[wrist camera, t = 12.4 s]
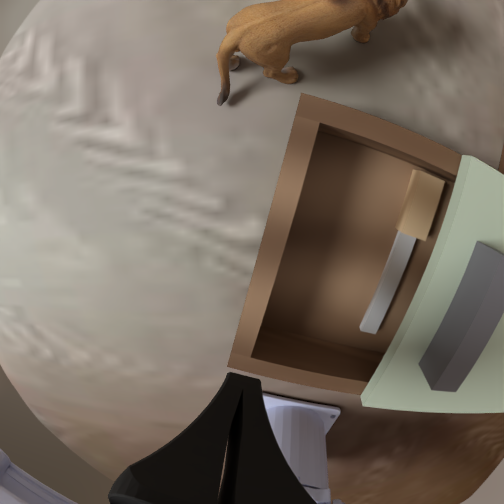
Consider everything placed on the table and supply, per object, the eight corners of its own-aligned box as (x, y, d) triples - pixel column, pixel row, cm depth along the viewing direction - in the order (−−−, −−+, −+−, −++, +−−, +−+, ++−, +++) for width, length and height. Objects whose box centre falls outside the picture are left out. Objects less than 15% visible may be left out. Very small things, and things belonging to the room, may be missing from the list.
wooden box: (449, 369, 22) (470, 404, 18) (238, 325, 23) (227, 366, 18) (537, 130, 15) (575, 131, 10) (321, 18, 16) (329, -16, 11)
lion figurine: (353, -28, 14) (379, -100, 5) (405, 21, 15) (460, -36, 6) (196, 81, 18) (135, 38, 9) (249, 136, 19) (219, 122, 10)
